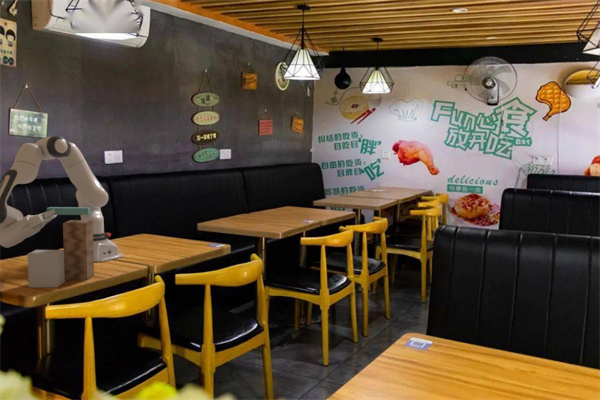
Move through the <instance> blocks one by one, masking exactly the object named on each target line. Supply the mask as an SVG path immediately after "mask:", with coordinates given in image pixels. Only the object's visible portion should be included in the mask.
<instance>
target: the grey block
mask: <svg viewBox="0 0 600 400" xmlns="http://www.w3.org/2000/svg"><path fill="white" fill-rule="evenodd" d="M26 255H27V274H28V275H27V276H28V277H27V278H28V279H27V280H28V283H27V284H28V288H59V287H60V286H61V285H62V283H63V284H64V283H65V282H66V281H65V271H64V249H35V250H33V251H30V252H28V253H27V254H26Z"/></svg>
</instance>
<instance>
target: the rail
mask: <svg viewBox="0 0 600 400" xmlns="http://www.w3.org/2000/svg"><path fill="white" fill-rule="evenodd" d="M53 209H55V211H56V213H54V214H52V215H57V216H65V215H66V216H70V215H71V216H81V215H89V214H91V210H90V207H79V206H76V207H75V206H63V207H61V206H49V207H47V208H46V212H49V211H51V210H53Z"/></svg>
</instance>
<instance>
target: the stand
mask: <svg viewBox="0 0 600 400" xmlns="http://www.w3.org/2000/svg"><path fill="white" fill-rule="evenodd" d="M62 237H63V239H62V240H63V250H64V271H65V280H66V281H68V280H69V281H71V282H72V281H75V282H76V281H89V280H90V279H91V278H92V277H94V276H95V262H94V252H93V220H81V219H79V220H78V219H74V220H73V219H70V220H68V221H65V222H63V223H62ZM66 281H65V282H66Z"/></svg>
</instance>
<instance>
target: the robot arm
mask: <svg viewBox="0 0 600 400" xmlns="http://www.w3.org/2000/svg"><path fill="white" fill-rule="evenodd" d="M55 159H57V160H58V161H59V162H61V163H60V164H61V165H62V167H63V169H64V170H65V172H66V174H67V176H68V178H69V180H70V181H71V183H72V185H74V186H75V188H76V192H75V197H76V200H77V205H78V207H90V210H91V214H89V215H80V220H93V252H94V263H95V262H97V263H101V262H107V261H112V260H117V259H120V258H124V254H123V253H121V252H120V250H119V246H118V245H117V244H116V243H114V242H113V241H112V240H110V239H109V238H110V237H111V235H112V234H111V233H110V232H105V228H104V227H105V224H104V216H103V213H102V210H101V208H102V207H104V206H106V205H107V204H108V202H109V194H108V192H107V191H106V189H104V187H103V186H102V184H101V182H100V181H99V180H98V179H97V177H96V176H95V174H94V173H93V171H92V170H91V168H90V167H89V164H88V161H86V159H85V157H84V155H83V153H82V152H81V150H80V149H79V147H78V146H77V145H76V144H75V143H73V142H70V141H69V142H68V140H67V139H66V138H64V137H62V136H60V135H53V136H45V137H43V138H41V139H36V140H35V141H33V142H26V143H23V144H22V145H21V146H20V148H19V150H18V151H17V154H16V156H15V158H14V161H13V163H12V166H11V168H10V169H8V170H6V171H5V173H4V174H3V175H2V177H1V179H0V246H1V247H3V248H10V247H13V246H16V245H18V244H20V243H21V242H23V241H24V240H25V239H27V238H30V237H32V236H34V235H36V234H37V233H39V232H40V231H41V229H42V228H44V227H45V226H46V225H47V224H48V223H50V222H51V221H52V220H54V219H55V218H56V217H57V216H58V215H52V214H54V213H56V211H55V209H53V210H51V211H49V212H47V211H45V212H42V213H39V214H35V215H31V214H28V215H26V216H24V214H23V212H22V211H21V210H19V209H17V208H15V207H12V206H10V205H8V203H7V201H8V200H9V197H10V195H11V192H12V191H13V188H14V187H15V186H16V185H19V184H20V185H24V184H29V183H32V182H34V180H35V179H36V177H37V176H38V173H39V169H40V166H41V163H42V162H44V161H51V160H55Z"/></svg>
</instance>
